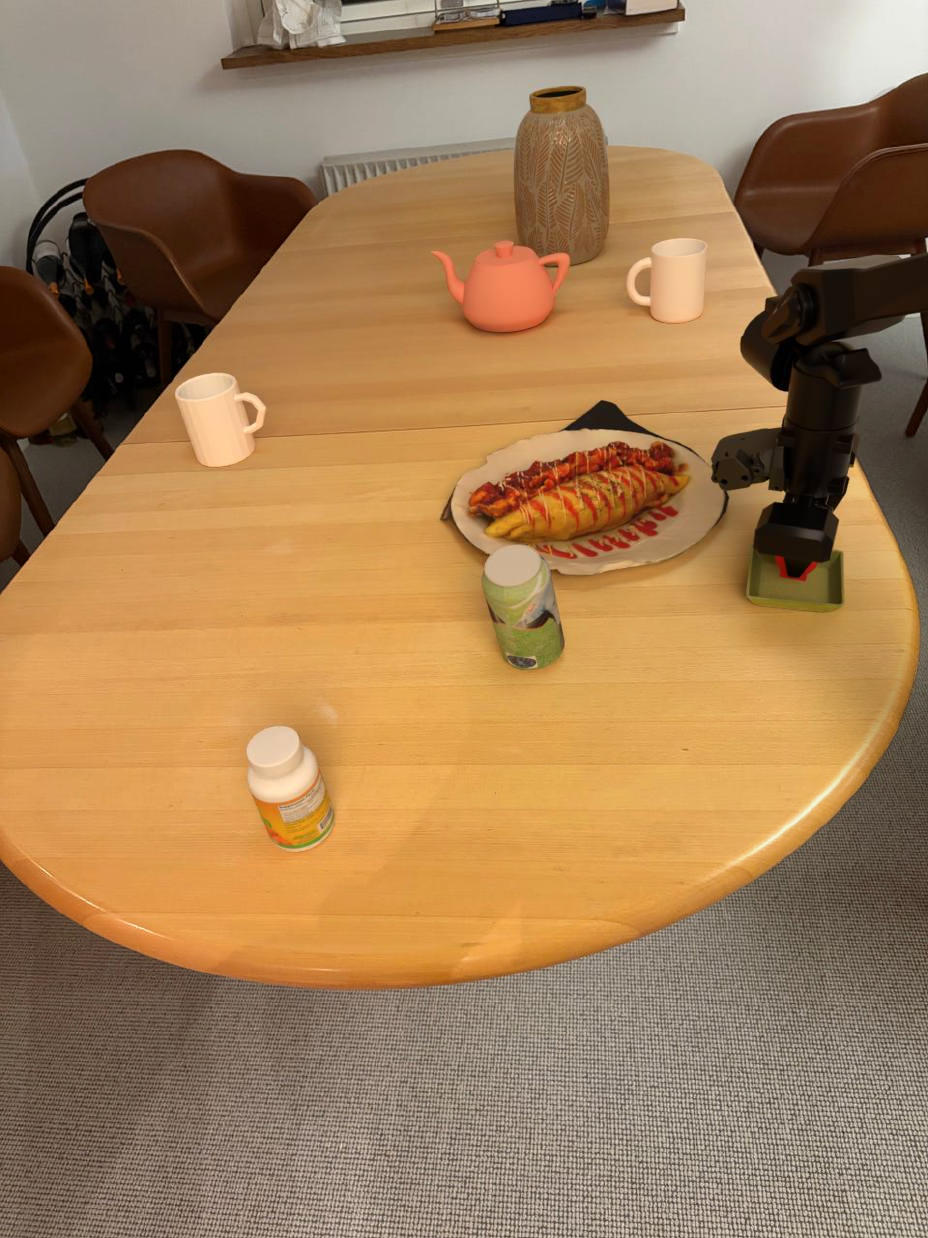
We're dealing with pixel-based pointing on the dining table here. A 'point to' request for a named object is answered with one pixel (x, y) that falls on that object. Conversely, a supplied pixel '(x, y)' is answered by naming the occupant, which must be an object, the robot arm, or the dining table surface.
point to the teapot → (506, 287)
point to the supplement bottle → (288, 789)
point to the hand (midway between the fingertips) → (797, 563)
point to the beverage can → (523, 607)
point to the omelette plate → (590, 496)
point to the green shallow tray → (796, 585)
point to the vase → (561, 176)
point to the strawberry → (783, 572)
